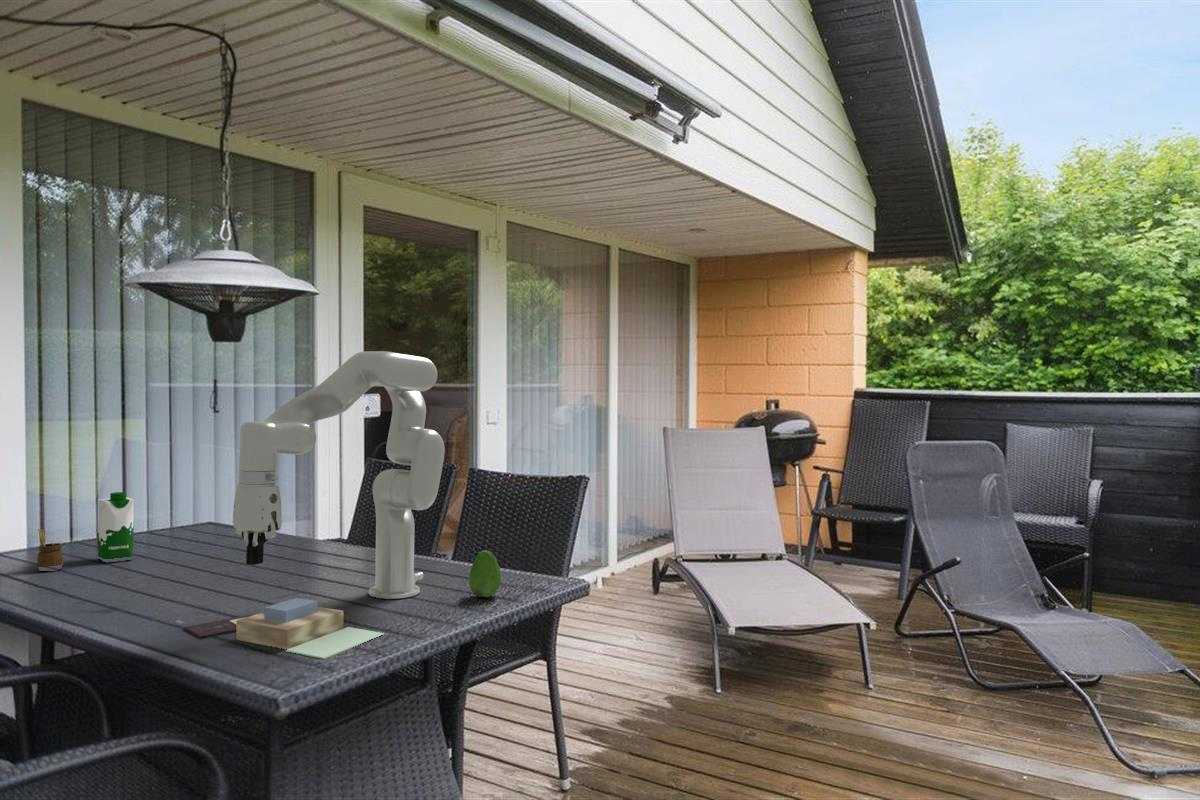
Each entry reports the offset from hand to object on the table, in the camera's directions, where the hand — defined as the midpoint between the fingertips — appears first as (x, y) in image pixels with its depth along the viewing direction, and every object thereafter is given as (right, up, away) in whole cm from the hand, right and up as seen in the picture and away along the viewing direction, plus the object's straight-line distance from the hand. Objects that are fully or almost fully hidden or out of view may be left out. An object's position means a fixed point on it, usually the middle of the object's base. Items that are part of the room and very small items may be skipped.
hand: (254, 563), depth 180 cm
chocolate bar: (-5, -15, +2) cm, 16 cm away
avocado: (+45, -15, +31) cm, 57 cm away
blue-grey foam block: (+9, -10, -3) cm, 14 cm away
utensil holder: (-77, -12, +50) cm, 93 cm away
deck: (+9, -14, -3) cm, 17 cm away
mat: (+20, -15, -9) cm, 27 cm away
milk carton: (-68, -12, +64) cm, 94 cm away
